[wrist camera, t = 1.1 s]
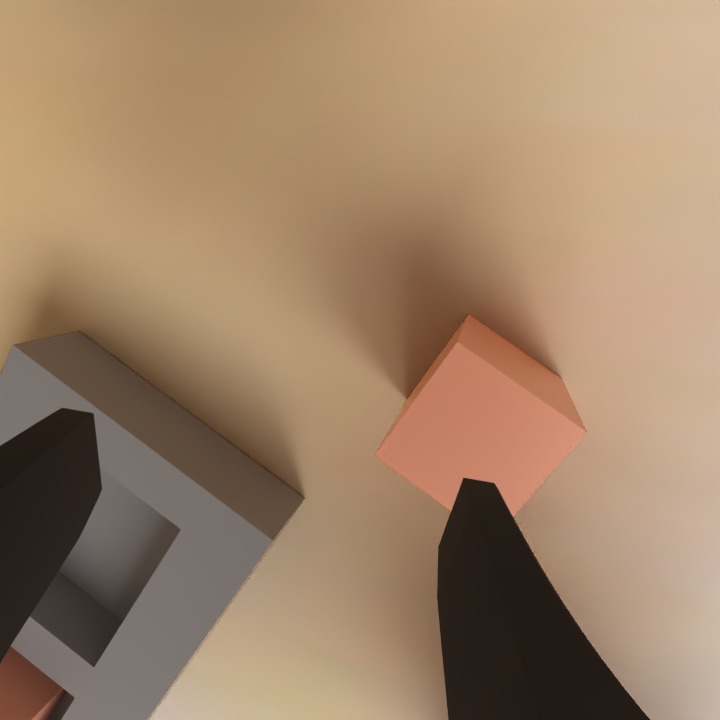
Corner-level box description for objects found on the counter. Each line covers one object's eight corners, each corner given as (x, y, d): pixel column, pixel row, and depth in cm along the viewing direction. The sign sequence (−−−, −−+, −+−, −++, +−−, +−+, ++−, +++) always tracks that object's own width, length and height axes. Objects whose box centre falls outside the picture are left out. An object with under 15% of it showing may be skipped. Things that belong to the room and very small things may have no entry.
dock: (304, 498, 24) (228, 599, 17) (91, 801, 30) (-25, 960, 23) (79, 331, 25) (-78, 364, 18) (-81, 659, 31) (-240, 774, 24)
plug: (561, 378, 20) (586, 432, 15) (493, 461, 22) (492, 541, 16) (468, 313, 21) (457, 341, 15) (406, 399, 22) (374, 455, 16)
